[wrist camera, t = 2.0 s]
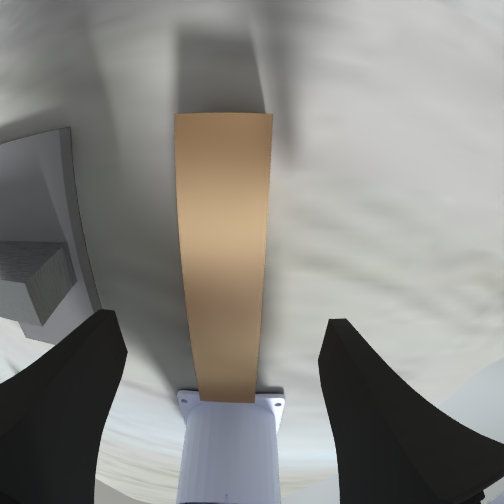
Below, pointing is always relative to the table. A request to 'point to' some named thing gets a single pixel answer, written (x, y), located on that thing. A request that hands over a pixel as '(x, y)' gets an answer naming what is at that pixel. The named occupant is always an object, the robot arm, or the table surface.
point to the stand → (43, 239)
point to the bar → (223, 244)
